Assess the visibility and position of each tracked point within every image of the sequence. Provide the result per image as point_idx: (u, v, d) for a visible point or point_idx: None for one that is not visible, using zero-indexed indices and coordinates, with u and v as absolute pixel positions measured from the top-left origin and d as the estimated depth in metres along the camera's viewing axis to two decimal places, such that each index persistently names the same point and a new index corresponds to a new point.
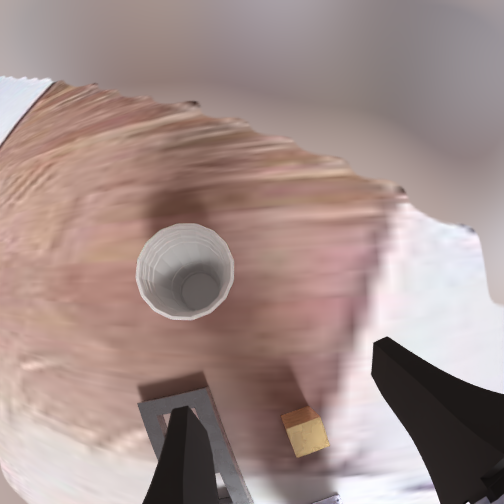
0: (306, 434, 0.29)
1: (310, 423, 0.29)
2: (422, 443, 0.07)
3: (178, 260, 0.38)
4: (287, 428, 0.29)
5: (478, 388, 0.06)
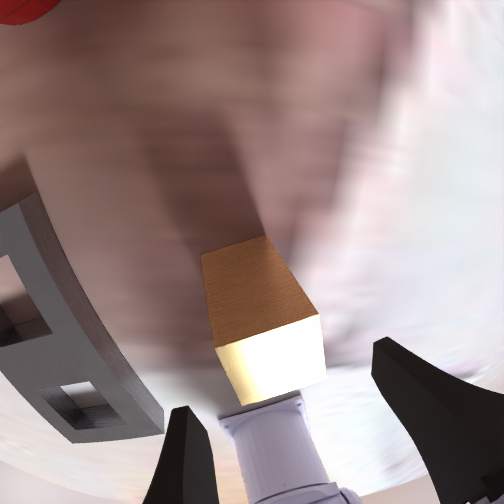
0: (273, 359, 0.11)
1: (287, 331, 0.11)
2: (422, 443, 0.07)
3: None
4: (218, 344, 0.11)
5: (478, 388, 0.06)
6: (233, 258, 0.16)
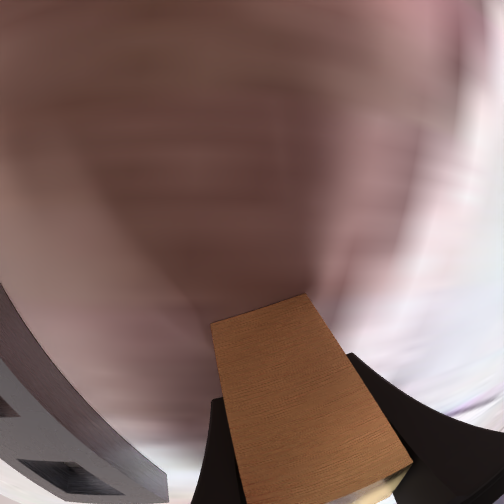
0: None
1: (364, 489, 0.05)
2: None
3: None
4: None
5: (440, 415, 0.06)
6: (262, 338, 0.10)
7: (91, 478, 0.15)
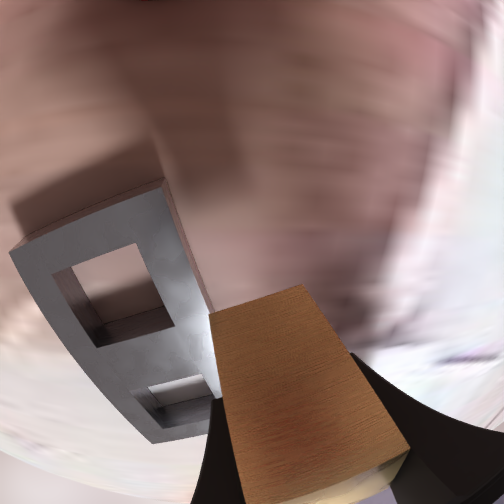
0: (330, 499, 0.06)
1: (361, 476, 0.05)
2: None
3: None
4: (252, 502, 0.05)
5: (440, 415, 0.06)
6: (259, 327, 0.11)
7: (187, 409, 0.23)
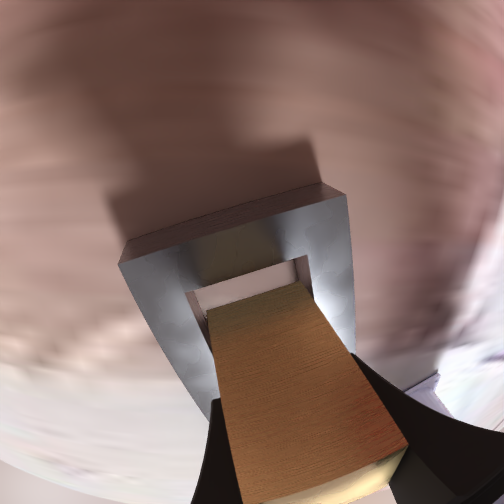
0: (328, 496, 0.06)
1: (359, 472, 0.05)
2: None
3: None
4: (248, 498, 0.05)
5: (440, 415, 0.06)
6: (257, 323, 0.11)
7: None
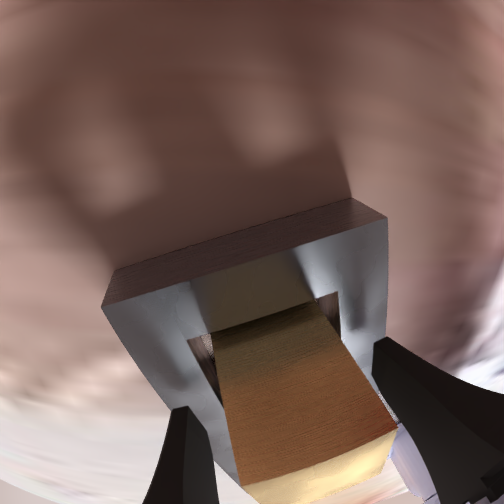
0: (322, 479, 0.06)
1: (351, 454, 0.06)
2: (422, 443, 0.07)
3: None
4: (245, 478, 0.06)
5: (478, 388, 0.06)
6: None
7: None
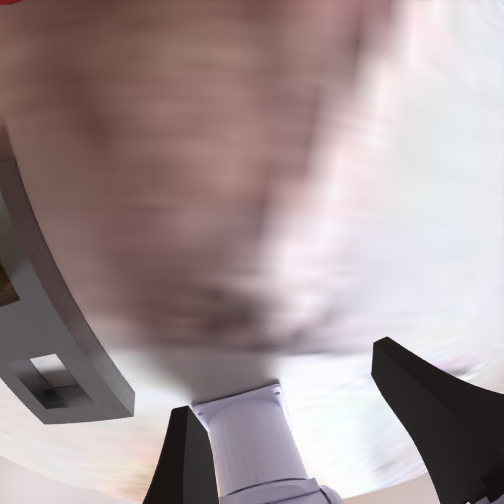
0: None
1: None
2: (422, 443, 0.07)
3: None
4: None
5: (478, 388, 0.06)
6: None
7: (69, 394, 0.19)
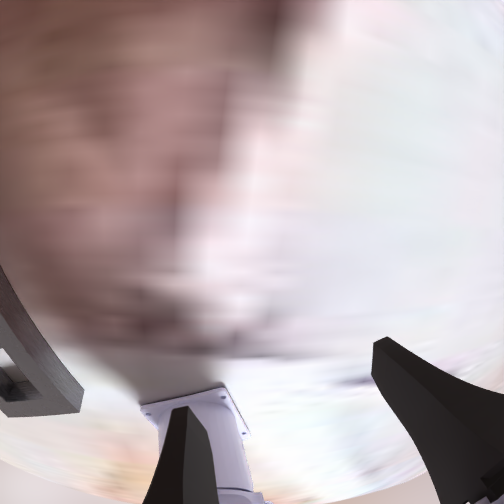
0: None
1: None
2: (422, 443, 0.07)
3: None
4: None
5: (478, 388, 0.06)
6: None
7: (26, 388, 0.18)
